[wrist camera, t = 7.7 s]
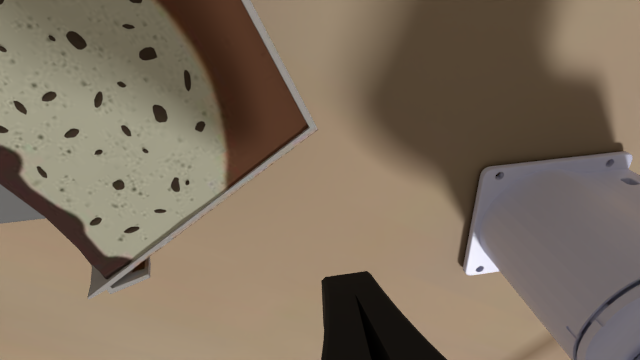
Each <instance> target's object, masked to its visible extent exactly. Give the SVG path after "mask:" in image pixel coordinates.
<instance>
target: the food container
mask: <svg viewBox="0 0 640 360" xmlns="http://www.w3.org/2000/svg"><path fill="white" fill-rule="evenodd" d="M317 130H318V129H317V127H316V125H315V123H314V121H313V119H312V117H311V115H310V114H309V112H308V110H307V108H306V106H305V104H304V102H303V100H302V98H301V96H300V94H299V93H298V91H297V89H296V87H295V85H294V83H293V81H292V79H291V77H290V75H289V73H288V72H287V70H286V68H285V66H284V64H283V62H282V60H281V58H280V56H279V54H278V52H277V50H276V49H275V47H274V45H273V43H272V41H271V39H270V37H269V35H268V33H267V31H266V29H265V28H264V26H263V24H262V22H261V20H260V18H259V16H258V14H257V12H256V10H255V8H254V7H253V5H252V3H251V1H250V0H0V184H1V185H2V186H3V187H5V188H6V189H7V190H9V191H10V192H11V193H13V194H14V195H15V196H17V197H18V198H20V199H21V200H22V201H24V202H25V203H26V204H28V205H29V206H30V207H32V208H33V209H34V210H36V211H37V212H39V213H40V214H41V215H43V216H44V217H45V218H47V219H48V220H49V221H50V222H51V223H52V224H53V225H54V226H55V227H56V228H57V229H58V230H59V231H60V232H61V233H62V234H64V235H65V236H66V237H67V238H68V239H69V240H70V241H71V242H72V243H73V244H74V245H75V246H76V247H77V248H78V249H79V250H80V251H81V253H82V254H83V255H84V256H85V258H86V259H87V260H88V261H89V262H90V264H91V265H92V274H91V285H90V289H89V293H88V299H90V298H92V297H94V296H96V295H98V294H99V293H101V292H103V291H105V290H107V291H108V292H109V293H110V294H112V293H114V292H116V291H119V290H121V289H124V288H126V287H129V286H131V285H133V284H136V283H138V282H141V281H143V280H145V279H148V278H150V256H151V255H152V254H154V253H155V252H156V251H158V250H159V249H160V248H162V247H163V246H164V245H166V244H167V243H168V242H169V241H171V240H172V239H173V238H175V237H176V236H177V235H179V234H180V233H181V232H183V231H184V230H185V229H187V228H188V227H189V226H191V225H192V224H193V223H195V222H196V221H197V220H199V219H200V218H201V217H203V216H204V215H205V214H207V213H208V212H209V211H211V210H212V209H213V208H215V207H216V206H217V205H219V204H220V203H221V202H223V201H224V200H225V199H227V198H228V197H229V196H231V195H232V194H233V193H234V192H236V191H237V190H238V189H240V188H241V187H242V186H244V185H245V184H246V183H248V182H249V181H250V180H252V179H253V178H254V177H256V176H257V175H258V174H260V173H261V172H262V171H264V170H265V169H266V168H268V167H269V166H270V165H272V164H273V163H274V162H276V161H277V160H278V159H280V158H281V157H282V156H284V155H285V154H286V153H288V152H289V151H290V150H292V149H293V148H294V147H296V146H297V145H298V144H299V143H301V142H302V141H303V140H305V139H306V138H307V137H309V136H310V135H311V134H313V133H314V132H315V131H317Z"/></svg>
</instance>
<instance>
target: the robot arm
mask: <svg viewBox="0 0 640 360" xmlns="http://www.w3.org/2000/svg"><path fill="white" fill-rule="evenodd" d="M607 161H608V162H607ZM631 161H632V155H631V154H629V153H628V152H625V151H622V152H613V153H604V154H595V155H587V156H578V157H569V158H560V159H551V160H542V161H534V162H525V163H516V164H507V165H498V166H490V167H487V168H485V169H484V170H483V171H482V172H481V175H480V179H479V185H478V190H477V195H476V201H475V206H474V211H473V217H472V222H471V228H470V233H469V238H468V244H467V249H466V254H465V260H464V265H463V270H464V272H465V273H466V274H467V275H477V274H484V273H491V272H497V271H500V272H501V273H502V274H503V276H504V277H505V278H506V279H507V280H508V282H509V283H510V284H511V285H512V287H513V288H514V289H515V290H516V292H517V293H518V294H519V295H520V297H521V298H522V299H523V300H524V301H525V303H526V304H527V305H528V306H529V308H530V309H531V310H532V311H533V313H534V314H535V315H536V316H537V317H538V319H539V320H540V321H541V322H542V324H543V325H544V326H545V327H546V329H547V330H548V331H549V332H550V334H551V335H552V336H553V337H554V338H555V340H556V341H557V342H558V343H559V345H560V346H561V347H562V348H563V350H564V351H565V352H566V353H567V354H568V356H569V357H570V358H571V359H572V360H640V175H638V174H636V173H634V172H633V171H631V170H629V167H630V164H631ZM499 172H500V174H499V175H498V176H496V174H498V173H499ZM495 176H496V177H495ZM322 301H323V323H324V342H323V351H322V358H321V360H447V359H446V358H445V357H444V356H443V355H442V354H441V353H440V352H439V351H438V350H437V349H435V348H434V347H433V346H432V345H431V344H430V343H429V342H428V341H427V340H426V339H425V337H424V336H423V335H422V334H421V333H420V332H419V331H418V330H417V329H416V328H415V327H414V326H413V325H412V324H411V323H410V321H409V320H408V319H407V318H406V317H405V316H404V315H403V314H402V313H401V311H400V310H399V309H398V308H397V307H396V306H395V304H394V303H393V302H392V301H391V300H390V298H389V297H388V296H387V295H386V293H385V292H384V291H383V290H382V288H381V287H380V286H379V285H378V283H377V282H376V281H375V279H374V278H373V277H372V275H371V274H370V273H369V272H367V271H365V272H358V273H351V274H344V275H337V276H330V277H325V278H324V279H323V280H322Z"/></svg>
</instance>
